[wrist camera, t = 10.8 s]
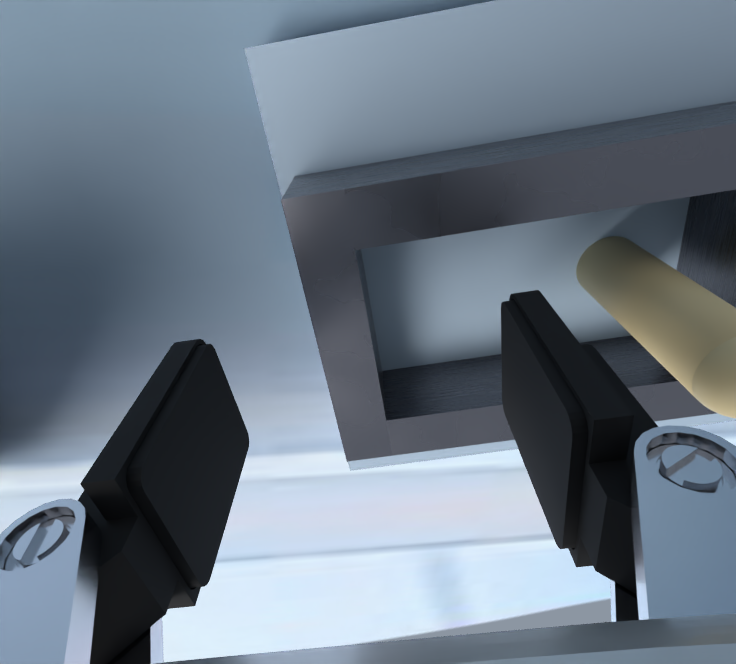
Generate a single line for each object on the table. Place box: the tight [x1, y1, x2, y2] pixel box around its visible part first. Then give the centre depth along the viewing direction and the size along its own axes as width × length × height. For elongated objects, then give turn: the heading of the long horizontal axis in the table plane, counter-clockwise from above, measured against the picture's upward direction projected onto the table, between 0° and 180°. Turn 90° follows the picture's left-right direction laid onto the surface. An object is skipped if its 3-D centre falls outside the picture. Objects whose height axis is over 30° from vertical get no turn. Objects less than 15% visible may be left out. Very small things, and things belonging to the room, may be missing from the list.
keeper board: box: [244, 0, 736, 471], centre depth 12 cm, size 18×14×8 cm
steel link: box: [281, 101, 736, 462], centre depth 13 cm, size 12×8×2 cm, turn 99°
